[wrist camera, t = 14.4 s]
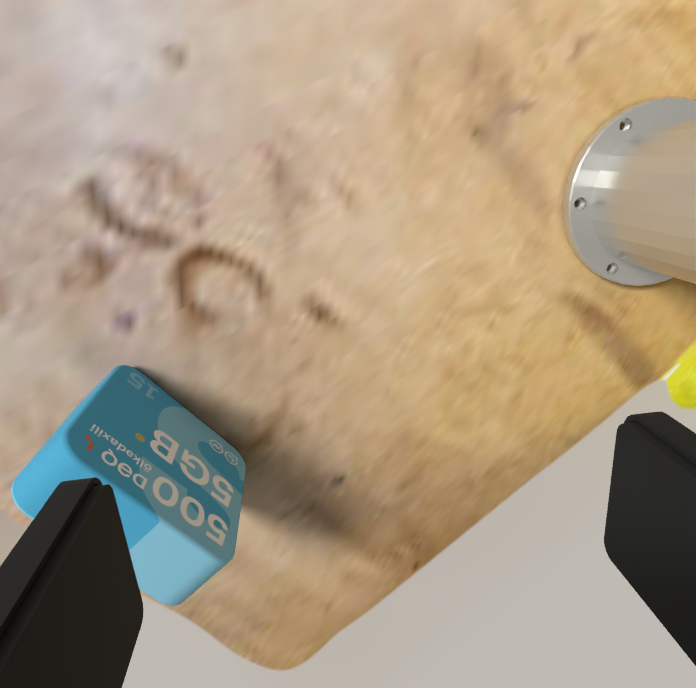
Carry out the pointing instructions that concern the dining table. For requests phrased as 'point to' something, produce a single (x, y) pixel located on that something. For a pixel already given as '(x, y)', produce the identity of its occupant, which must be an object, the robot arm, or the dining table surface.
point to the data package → (148, 480)
